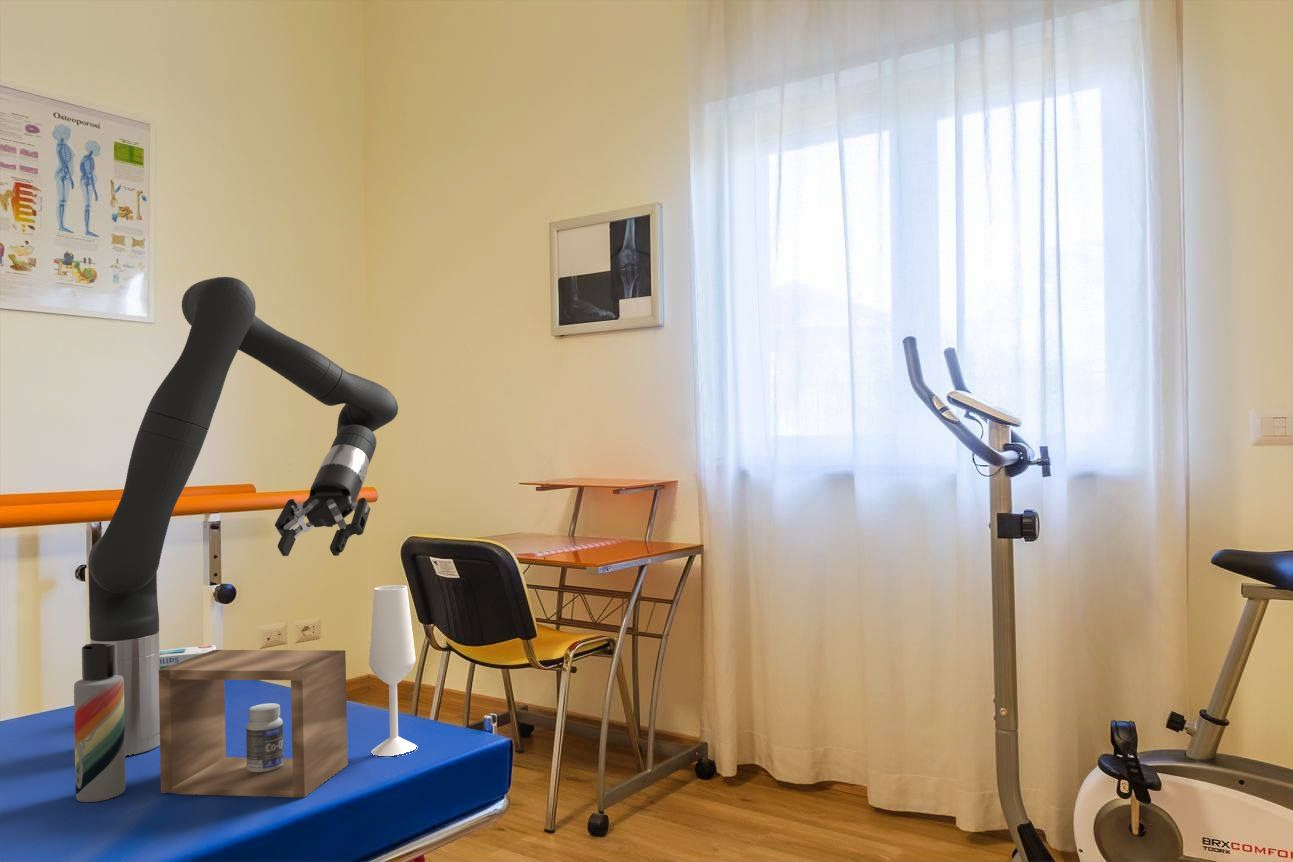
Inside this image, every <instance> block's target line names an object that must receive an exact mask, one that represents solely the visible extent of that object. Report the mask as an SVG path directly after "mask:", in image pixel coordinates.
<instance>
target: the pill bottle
mask: <svg viewBox="0 0 1293 862" xmlns="http://www.w3.org/2000/svg"><path fill="white" fill-rule="evenodd" d="M280 716H281V706H280V704H279V703H275V702H273V703H272V702H271V703H261V704H257V705H252V706H250V707H249V709H248V719H249V720H250V721H248V722H247V723H246V727H245V728H246V729H245V730H246V734H245V736H246V737H245V738H246V742H245V743H246V750H245V751H246V757H247V770H248V771H250V772H257V773H260V772H268V771H272V770H275V769H278V768H280V767H281V766H282V765H283V758H284V721H283V719H282V718H281V717H280Z"/></svg>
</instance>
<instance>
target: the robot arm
mask: <svg viewBox="0 0 1293 862" xmlns="http://www.w3.org/2000/svg"><path fill="white" fill-rule="evenodd" d="M256 305H257V304H256V300H255V296H254V294H253V292H252V290H251V288H250V287H249V286H248V285H247V284H246V283H245V282H244V281H243V280H240V279H238V278H235V277H232V276H231V277H229V276H218V277H213V278H208V279H204V280H201V281H198V282H196V283H194V284H193V285H191V286H190V287H189V288H188V289H186V291H185V292H184V294H183V296H182V300H181V310H182V314H183V317H184V319H185V321H187V323H188V324H189V325H190V330H189V333H188V336H187V339H186V343H185V345H184V348H183V350H182V351H181V354H180V356H179V358H178V359H177V360H176V362H175V363H174V364H173V366H172V368H171V370H170V371H169V372H168V373H167V375H166V376H165V378H164V379H163V381H162V382H161V383H160V385H159V386H158V388H157V389H156V391H155V393H154V394H153V396H152V398H151V400H150V401H149V403H148V405H147V408H146V411H145V412H144V413H145V414H144V416H143V418H142V420H141V424H140V426H139V429H138V431H137V434H136V436H135V440H134V443H133V447H132V451H131V454H130V458H129V464H128V467H127V473H126V478H125V482H124V489H123V492H122V494H121V498H120V500H119V503H118V505H117V507H116V509H115V511H114V513H113V516H112V518H111V520H110V521H109V524H108V525H107V528H106V530H105V532H103V535H102V536H101V537H100V538H99V539H97V541H96V542H95V543H94V544H93V545H92V547H91V549H90V552H89V554H88V565H87V567H88V571H87V573H88V574H87V575H88V609H89V610H88V616H89V617H88V618H89V641H90V643H89V644H110V645H115V662H116V674H115V675H120V676H122V677H123V678H124V713H125V757H126V756H127V755H129V756H133V755H132V754H134V755H137V754H141V753H145V752H149V751H151V750H154V749H156V748H157V747H158V746H159V747H160V713H159V670H160V651H159V650H160V613H159V604H158V582H157V581H158V579H157V578H158V574H157V571H158V569H159V567H160V561H161V556H162V552H163V548H164V544H165V541H166V536H167V532H168V528H169V526H170V521H171V518H172V515H173V512H174V510H175V507H176V505H177V502H178V500H179V498H180V496H181V494H182V492H183V490H184V488H185V486H186V485H187V483H188V481H189V479H190V476H191V473H192V472H193V469H194V467H195V465H196V462H197V460H198V457H199V455H200V453H201V450H202V449H203V446H204V443H205V440H206V438H207V434H208V433H209V429H210V427H211V423H212V420H213V416H214V414H215V411H216V409H217V406H218V403H219V400H220V397H221V394H222V391H223V388H224V384H225V381H226V379H227V376H228V372H229V370H230V368H231V365H232V364H233V361H234V359H235V357H236V355H237V353H238V351H240V352H242V353H244V354H246V355H247V356H249V357H251V358H252V359H255V360H256V361H257V362H260V363H261V364H263V365H265V366H266V367H268V368H269V369H270V370H272V371H273V372H275V373H277V374H278V375H280V376H281V377H283V378H284V379H286V380H288V381H289V382H290V383H292V384H293V385H295V387H297V388H299V389H300V390H302V391H303V392H305V393H306V394H308V395H310V396H311V397H313V398H314V399H316V400H317V401H318V402H320V403H322V404H323V405H325V406H329V407H332V406H339V405H343V404H344V406H342V408H341V410H340V413H339V414H338V418H337V424H336V425H337V428H336V436H335V438H334V440H333V442H332V445H331V447H330V449H329V451H328V453H326V455H325V456H324V458H323V460H322V463H321V465H320V467H319V469H318V472H317V473H316V475H315V478H314V480H313V483H312V484H311V487H310V490H309V495H308V497H307V499H306V500H304V502H296V501H295V499H293V498H290V499H288V500H287V501H286V503H285V505H284V507H283V509H282V510H281V512H280V514H279V516H278V517H277V519H276V521H275V523H274V527H275V528H276V530H277V532H278V534H279V535H280V536H281V537H280V539H279V541H278V543H277V549H278V550H279V552H280V554H281V555H282V557H289V555H290V553H291V551H292V549H293V547H294V544H295V542H296V538H297V537H299V536H300V535H301V534H303V533H308V532H309V531H311V530H312V529H314V528H321V527H322V528H323V527H326V528H333V527H334V526H336V525H337V527H338V528H339V529H336V531H335V533H334V536H333V538H332V540H331V543H330V545H329V550H330V552H331V554H332V556H334V557H339V556H340V553H343V551H344V550H345V548H346V545H347V543H348V540H349V539H350V538H351V537H352V536H353V535H356V536H362V535H363V534H364V532H365V531H364V530H365V529H366V525H367V521H368V518H369V515H370V512H371V507H370V506H369V503H368V500H367V499H366V498H365V497H360V498H359V496H360V492H361V489H362V488H363V484H364V482H365V480H366V477H367V474H368V472H369V471H368V469H369V466H370V463H371V461H372V460H373V459H372V458H373V456H374V453H375V450H376V448H377V438H376V437H377V436H376V435H375V433H374V432H375V431H377V430H379V429H380V428H382V427H383V426H385V425H387V424H389V423H391V422H392V421H393V420H395V418H396V417H397V415H398V413H399V405H398V401H397V399H396V398H395V396H394V395H393V393H392V391H390V390H389V389H388V388H386V387H384V386H383V385H381V384H379V383H378V382H375V381H373V380H370V379H368V378H367V379H366V378H364V377H362V376H360V375H357V374H354V373H351V372H348V371H347V370H345V369H343V368H342V367H341V366H339V365H338V364H337V363H335V362H334V361H333V360H332V359H330V358H328V357H327V356H325V355H324V354H322V353H320V352H319V351H317V349H314V348H313V347H311V346H309V345H306V344H305V343H303V342H301V341H298V340H296V339H294V338H292V337H290V336H288V335H287V334H284V333H283V332H281V331H279V330H277V329H275V328H274V327H273V326H270V325H269V324H267V323H266V322H265V321H263V320H262V319H261V318H259V317H258V316H256V310H257V309H256ZM358 498H359V499H358ZM357 500H358V501H357ZM353 511H354V513H353ZM352 513H353V516H352V519H351V521H350V523H347V522H346V520H345V518H347V517H348V516H349V515H351V514H352ZM305 518H307V522H305V520H304V519H305ZM297 526H298V527H297ZM127 757H128V756H127Z"/></svg>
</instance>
